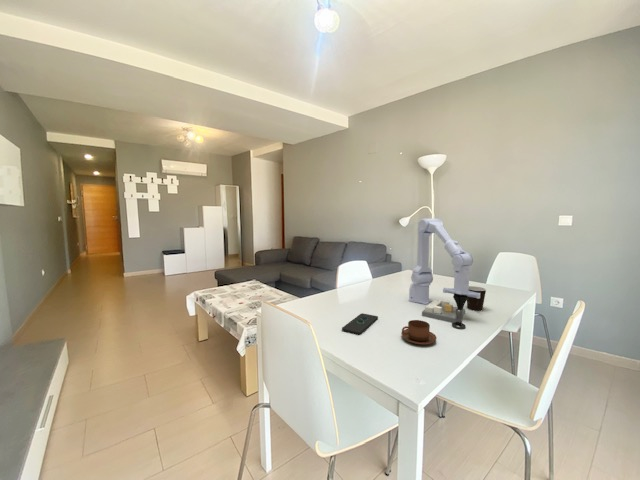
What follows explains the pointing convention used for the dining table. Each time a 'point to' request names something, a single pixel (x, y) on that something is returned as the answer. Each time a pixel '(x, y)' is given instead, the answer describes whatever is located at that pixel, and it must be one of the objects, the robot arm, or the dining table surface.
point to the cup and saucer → (418, 332)
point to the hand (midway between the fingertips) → (460, 311)
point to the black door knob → (458, 320)
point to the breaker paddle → (448, 308)
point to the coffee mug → (476, 299)
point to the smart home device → (360, 324)
